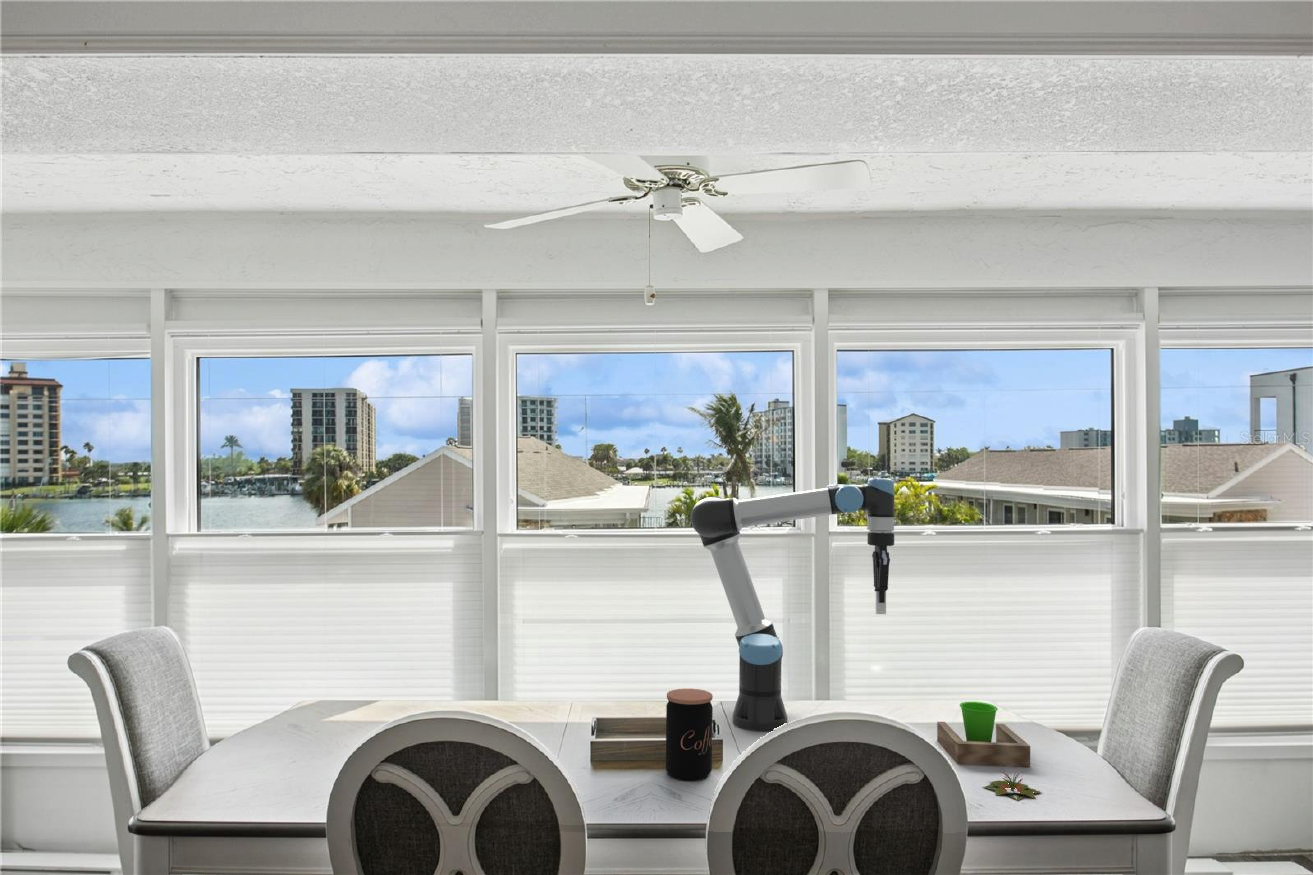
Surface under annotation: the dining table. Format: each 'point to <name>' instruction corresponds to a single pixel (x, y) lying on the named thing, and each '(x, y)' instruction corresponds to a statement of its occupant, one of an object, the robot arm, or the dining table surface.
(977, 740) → the cup
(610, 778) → the dining table surface
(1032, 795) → the lily flower
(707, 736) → the coffee jar
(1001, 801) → the dining table surface
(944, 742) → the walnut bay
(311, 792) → the dining table surface
